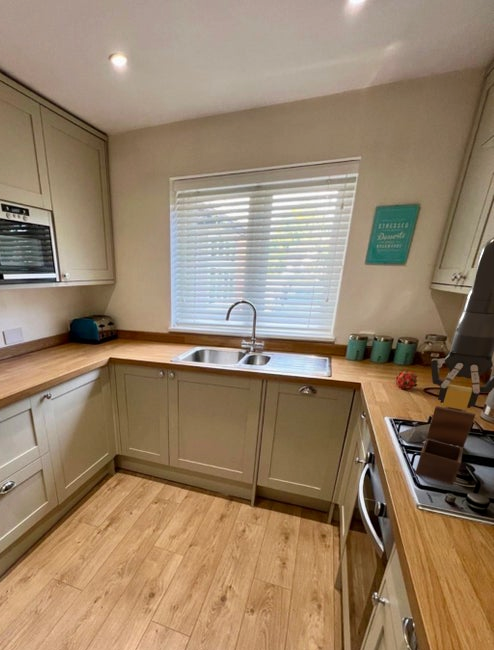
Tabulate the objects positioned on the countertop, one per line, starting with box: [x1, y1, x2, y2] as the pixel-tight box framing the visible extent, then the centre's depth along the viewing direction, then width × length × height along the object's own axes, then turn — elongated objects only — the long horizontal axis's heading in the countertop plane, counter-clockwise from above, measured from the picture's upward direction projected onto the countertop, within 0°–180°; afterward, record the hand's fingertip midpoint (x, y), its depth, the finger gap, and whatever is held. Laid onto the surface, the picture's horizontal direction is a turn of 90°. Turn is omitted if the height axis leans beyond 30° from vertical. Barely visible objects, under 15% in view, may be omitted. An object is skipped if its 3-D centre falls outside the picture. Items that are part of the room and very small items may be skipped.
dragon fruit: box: [394, 370, 418, 390], centre depth 155 cm, size 8×8×12 cm
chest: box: [415, 439, 464, 486], centre depth 89 cm, size 10×8×7 cm
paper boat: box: [396, 421, 431, 443], centre depth 106 cm, size 12×6×9 cm
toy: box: [442, 383, 473, 411], centre depth 79 cm, size 4×4×4 cm
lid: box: [427, 405, 477, 448], centre depth 89 cm, size 11×8×5 cm
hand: (454, 404), depth 79 cm, fingers closed on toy, 4 cm apart
